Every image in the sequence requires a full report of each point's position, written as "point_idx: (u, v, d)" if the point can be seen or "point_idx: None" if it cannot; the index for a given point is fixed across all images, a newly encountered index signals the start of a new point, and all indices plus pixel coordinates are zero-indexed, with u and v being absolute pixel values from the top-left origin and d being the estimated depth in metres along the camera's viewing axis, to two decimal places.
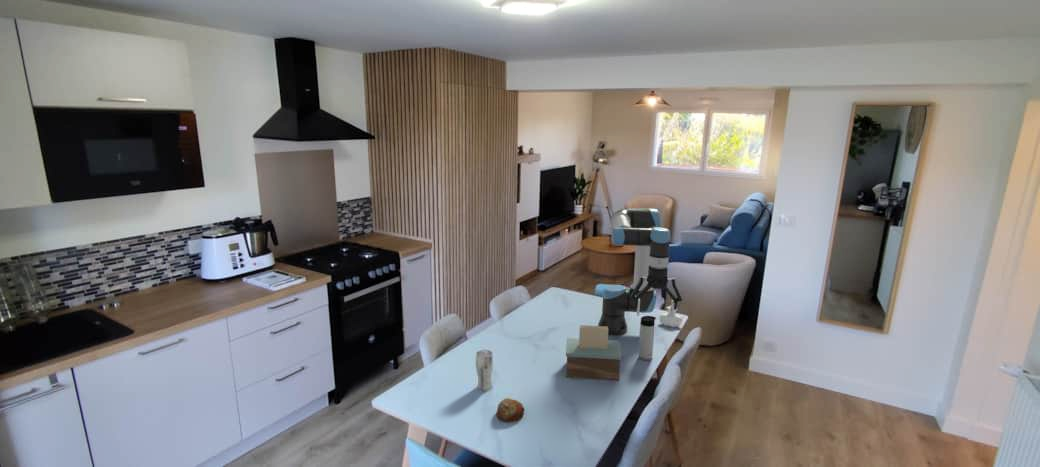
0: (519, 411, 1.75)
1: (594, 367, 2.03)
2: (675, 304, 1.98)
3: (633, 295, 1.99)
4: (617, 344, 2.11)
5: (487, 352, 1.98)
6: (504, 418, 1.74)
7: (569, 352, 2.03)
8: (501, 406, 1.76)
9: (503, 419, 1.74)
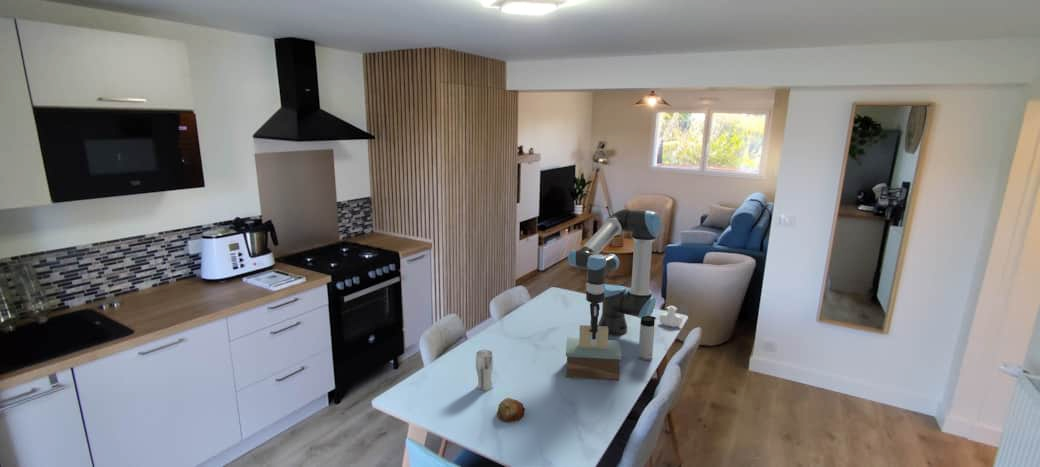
0: (520, 411, 1.76)
1: (594, 367, 2.03)
2: (592, 334, 2.05)
3: None
4: (617, 344, 2.11)
5: (487, 352, 1.98)
6: (505, 418, 1.74)
7: (569, 352, 2.03)
8: (502, 406, 1.76)
9: (503, 419, 1.74)
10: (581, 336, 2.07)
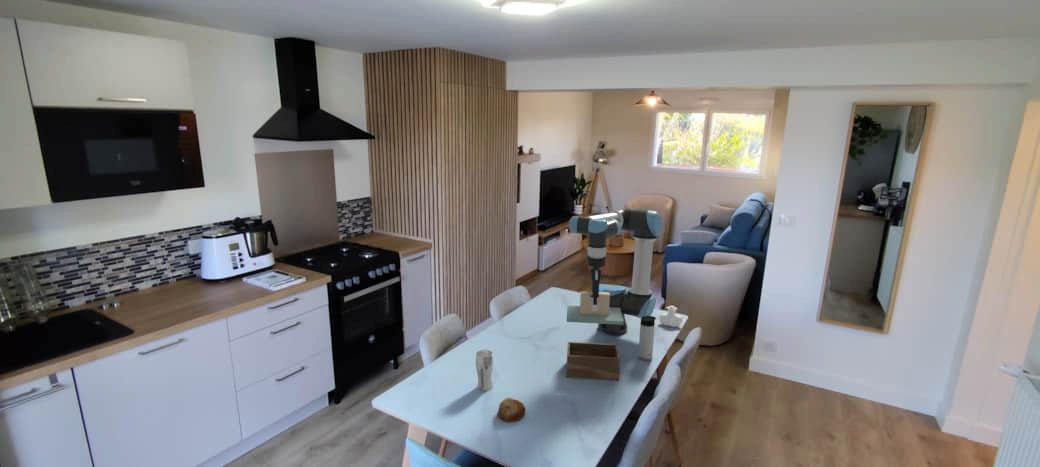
0: (520, 411, 1.76)
1: (594, 367, 2.03)
2: (593, 299, 2.01)
3: None
4: (619, 311, 2.08)
5: (487, 352, 1.98)
6: (505, 418, 1.74)
7: (569, 318, 2.00)
8: (502, 406, 1.76)
9: (504, 419, 1.74)
10: (582, 302, 2.04)
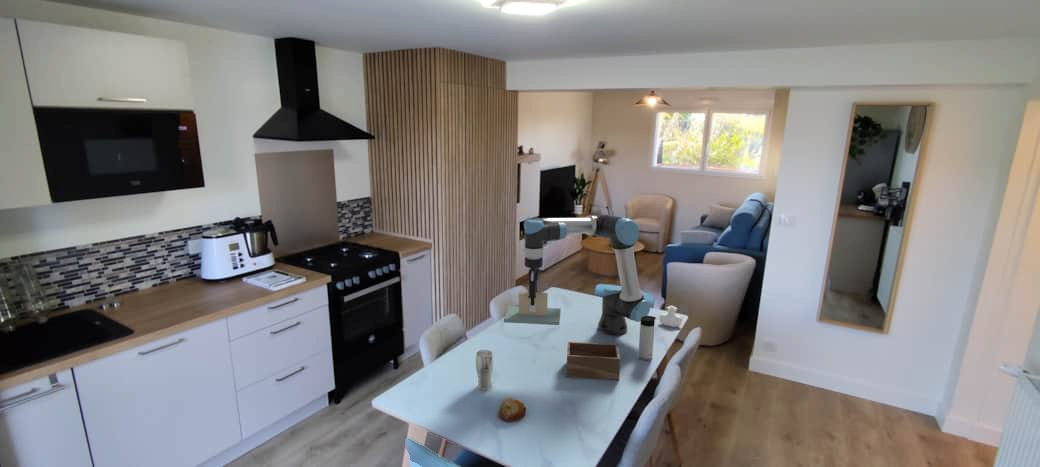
0: (521, 411, 1.76)
1: (594, 367, 2.03)
2: (530, 300, 2.03)
3: None
4: (558, 312, 2.09)
5: (487, 352, 1.98)
6: (506, 418, 1.74)
7: (507, 318, 2.01)
8: (503, 406, 1.76)
9: (504, 419, 1.74)
10: (520, 302, 2.05)
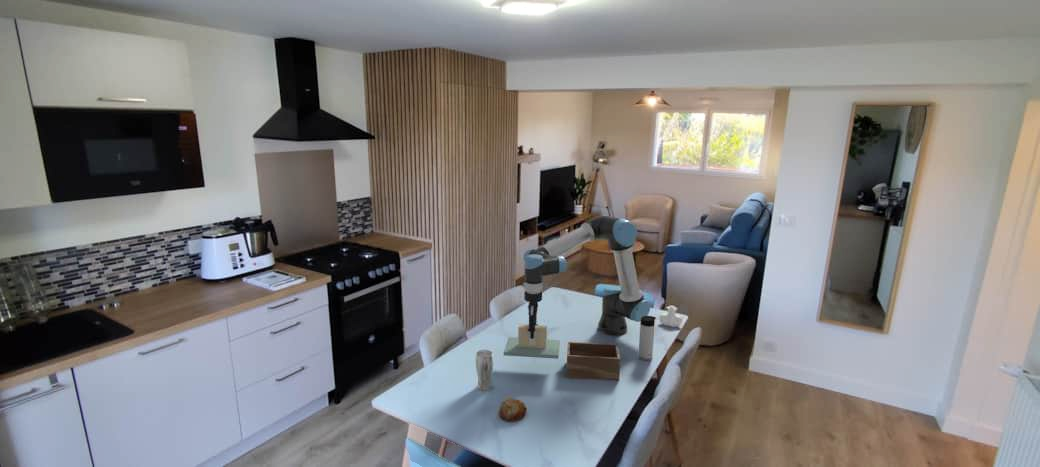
0: (521, 410, 1.76)
1: (594, 367, 2.03)
2: None
3: None
4: (557, 344, 2.12)
5: (487, 352, 1.98)
6: (506, 417, 1.74)
7: (506, 351, 2.04)
8: (503, 405, 1.76)
9: (505, 418, 1.74)
10: (520, 335, 2.08)
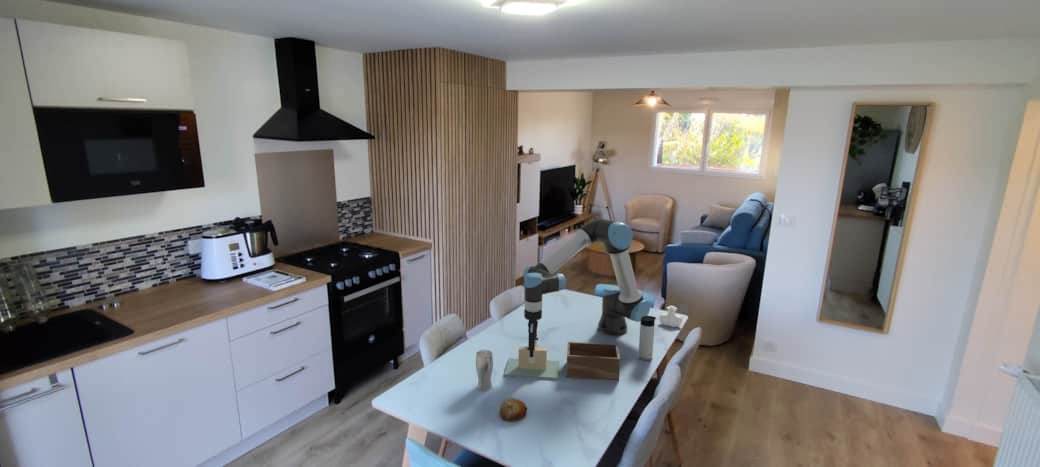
0: (522, 410, 1.76)
1: (594, 367, 2.03)
2: (530, 351, 2.05)
3: None
4: (557, 365, 2.14)
5: (487, 352, 1.98)
6: (507, 417, 1.74)
7: (507, 374, 2.07)
8: (504, 405, 1.76)
9: (506, 418, 1.75)
10: (520, 357, 2.10)
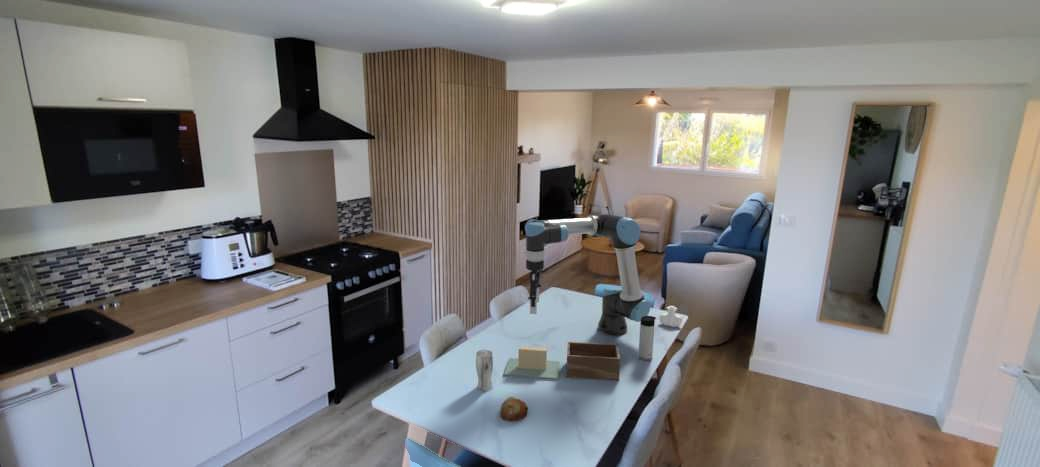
0: (523, 410, 1.76)
1: (594, 367, 2.03)
2: (531, 301, 1.98)
3: None
4: (557, 365, 2.14)
5: (487, 352, 1.98)
6: (508, 417, 1.74)
7: (506, 373, 2.07)
8: (505, 405, 1.77)
9: (506, 418, 1.75)
10: (520, 357, 2.10)
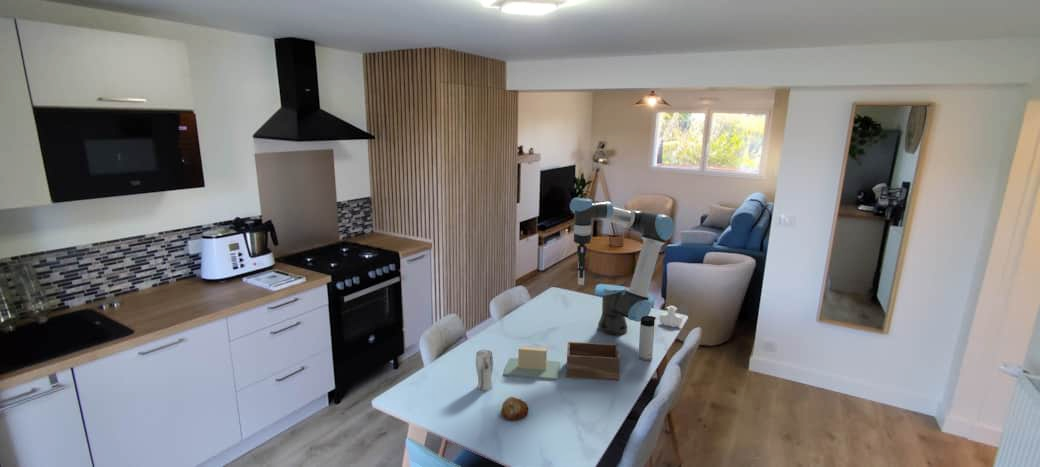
0: (523, 410, 1.76)
1: (594, 367, 2.03)
2: (579, 272, 2.10)
3: None
4: (557, 366, 2.14)
5: (487, 352, 1.98)
6: (508, 417, 1.75)
7: (506, 373, 2.07)
8: (506, 405, 1.77)
9: (507, 418, 1.75)
10: (520, 357, 2.10)
